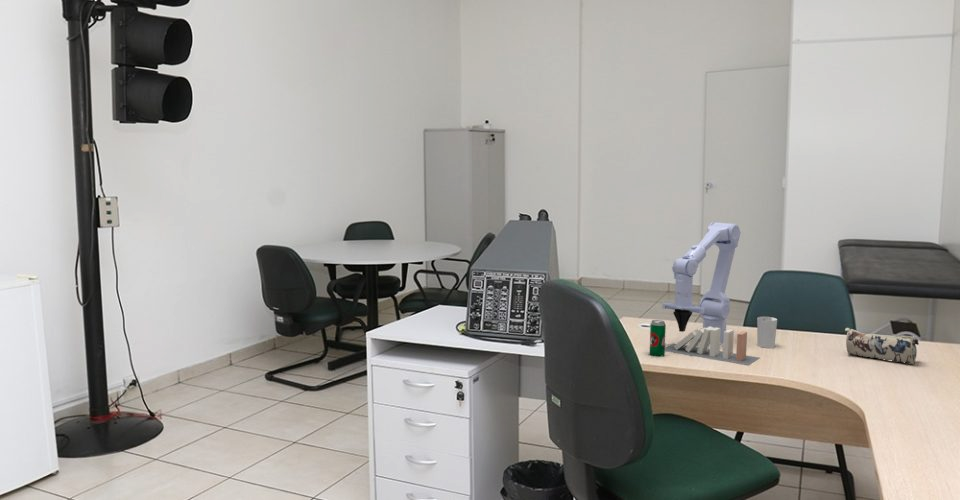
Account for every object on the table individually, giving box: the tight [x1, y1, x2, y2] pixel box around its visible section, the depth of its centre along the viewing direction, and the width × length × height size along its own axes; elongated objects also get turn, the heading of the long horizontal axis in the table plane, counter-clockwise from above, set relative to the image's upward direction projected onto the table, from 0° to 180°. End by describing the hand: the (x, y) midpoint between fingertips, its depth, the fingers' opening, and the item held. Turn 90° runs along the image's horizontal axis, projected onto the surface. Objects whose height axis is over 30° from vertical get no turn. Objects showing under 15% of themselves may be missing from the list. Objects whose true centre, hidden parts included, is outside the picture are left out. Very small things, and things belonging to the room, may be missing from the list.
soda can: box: [649, 319, 666, 357], centre depth 248 cm, size 5×5×12 cm
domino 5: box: [722, 328, 735, 359], centre depth 245 cm, size 2×5×9 cm, turn 141°
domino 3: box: [697, 326, 714, 354], centre depth 250 cm, size 2×5×9 cm, turn 142°
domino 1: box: [674, 328, 700, 350], centre depth 254 cm, size 2×5×9 cm
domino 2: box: [685, 327, 705, 352], centre depth 252 cm, size 2×5×9 cm
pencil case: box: [844, 327, 919, 365], centre depth 245 cm, size 22×8×10 cm, turn 49°
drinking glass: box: [756, 316, 778, 349], centre depth 262 cm, size 7×7×10 cm
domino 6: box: [735, 330, 748, 361], centre depth 242 cm, size 2×5×9 cm, turn 141°
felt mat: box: [665, 343, 761, 366], centre depth 250 cm, size 12×31×1 cm, turn 52°
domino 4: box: [709, 327, 721, 357], centre depth 248 cm, size 2×5×9 cm, turn 141°
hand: (682, 331), depth 255 cm, fingers closed
